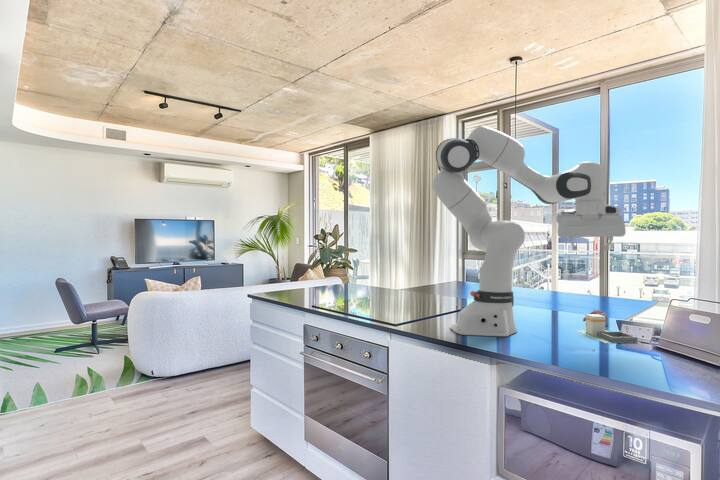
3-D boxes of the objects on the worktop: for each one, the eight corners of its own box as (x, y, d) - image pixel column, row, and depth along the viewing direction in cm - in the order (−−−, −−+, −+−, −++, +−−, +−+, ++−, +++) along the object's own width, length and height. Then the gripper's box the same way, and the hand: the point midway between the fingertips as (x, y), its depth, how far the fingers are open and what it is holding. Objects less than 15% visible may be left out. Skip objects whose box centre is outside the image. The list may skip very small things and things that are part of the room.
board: (604, 346, 124) (604, 337, 124) (574, 333, 141) (574, 325, 141) (640, 345, 124) (640, 337, 124) (606, 333, 141) (606, 325, 141)
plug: (592, 334, 134) (592, 316, 134) (585, 331, 138) (585, 314, 138) (605, 334, 134) (605, 316, 134) (597, 331, 138) (597, 314, 138)
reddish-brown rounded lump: (602, 332, 148) (612, 315, 148) (590, 326, 149) (599, 309, 149) (592, 326, 158) (601, 311, 158) (581, 321, 159) (590, 305, 158)
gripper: (555, 210, 141) (556, 250, 141) (625, 208, 132) (626, 250, 132) (556, 211, 147) (557, 250, 147) (624, 209, 137) (624, 250, 137)
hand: (590, 250), depth 139 cm, fingers open, 8 cm apart
